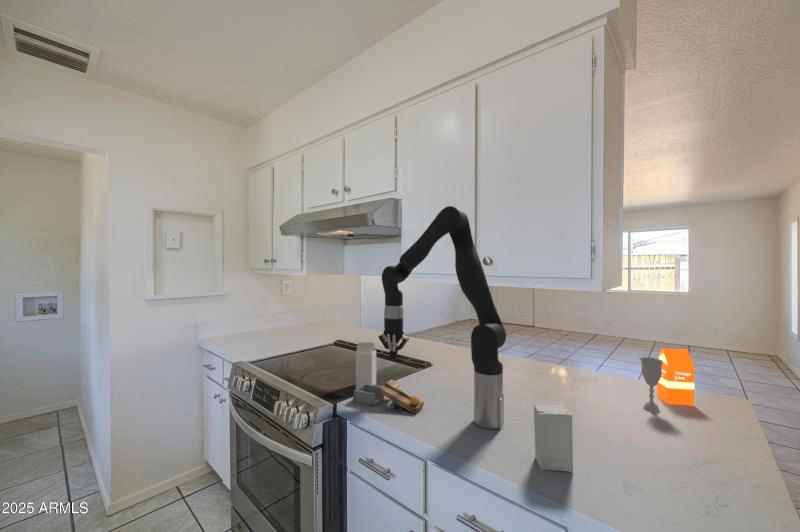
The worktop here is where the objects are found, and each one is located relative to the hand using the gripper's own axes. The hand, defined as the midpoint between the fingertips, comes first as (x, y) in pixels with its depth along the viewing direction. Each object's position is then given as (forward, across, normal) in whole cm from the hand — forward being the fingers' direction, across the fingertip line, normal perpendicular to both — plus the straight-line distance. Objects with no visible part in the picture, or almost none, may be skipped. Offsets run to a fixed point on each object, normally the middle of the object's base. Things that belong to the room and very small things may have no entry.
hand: (393, 360), depth 131 cm
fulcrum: (+15, -5, +7) cm, 17 cm away
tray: (+15, +7, +7) cm, 18 cm away
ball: (+11, -12, +7) cm, 18 cm away
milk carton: (+15, +16, -5) cm, 23 cm away
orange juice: (+14, -99, -47) cm, 110 cm away
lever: (+12, -6, +4) cm, 14 cm away
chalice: (+14, -89, -33) cm, 96 cm away
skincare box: (+14, -58, +20) cm, 63 cm away
